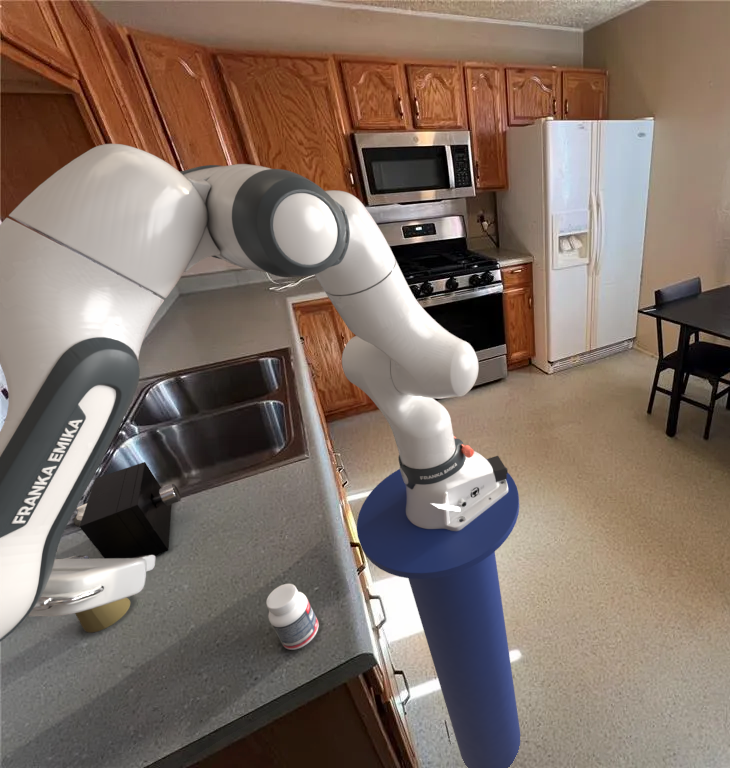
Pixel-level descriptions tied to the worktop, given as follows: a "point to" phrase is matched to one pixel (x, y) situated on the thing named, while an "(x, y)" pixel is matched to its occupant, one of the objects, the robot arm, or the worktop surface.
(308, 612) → the pill bottle
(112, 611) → the cork
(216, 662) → the worktop surface
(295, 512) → the worktop surface
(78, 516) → the stove knob
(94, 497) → the control block
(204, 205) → the robot arm
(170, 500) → the push knob
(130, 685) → the worktop surface
